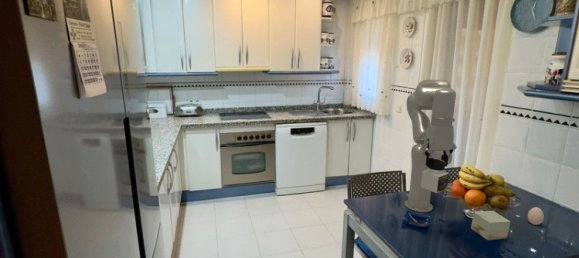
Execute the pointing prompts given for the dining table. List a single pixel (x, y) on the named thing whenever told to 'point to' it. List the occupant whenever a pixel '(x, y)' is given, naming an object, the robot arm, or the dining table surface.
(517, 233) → the dining table surface
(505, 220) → the block top
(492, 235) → the block bottom
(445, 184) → the medicine bottle
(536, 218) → the egg
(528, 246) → the dining table surface
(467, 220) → the dining table surface
